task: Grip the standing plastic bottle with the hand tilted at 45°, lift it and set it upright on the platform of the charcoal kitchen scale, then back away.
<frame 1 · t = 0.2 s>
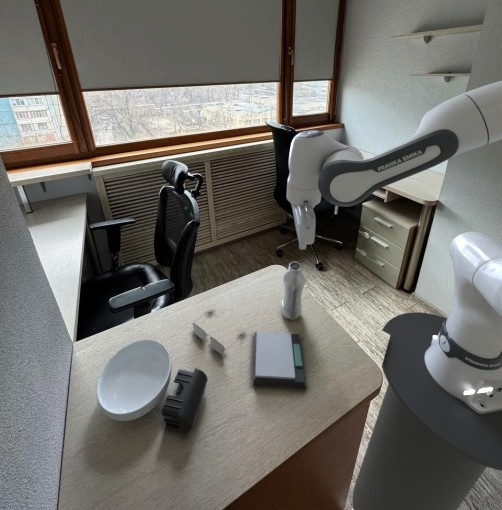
hand: (299, 237, 75), 31 cm above the table, tool pointing down, fingers open, 8 cm apart
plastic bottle: (290, 314, 88), on the table
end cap: (187, 407, 64), on the table
scale: (277, 360, 74), on the table
cereal bowl: (139, 390, 67), on the table
eyeglasses: (217, 333, 81), on the table
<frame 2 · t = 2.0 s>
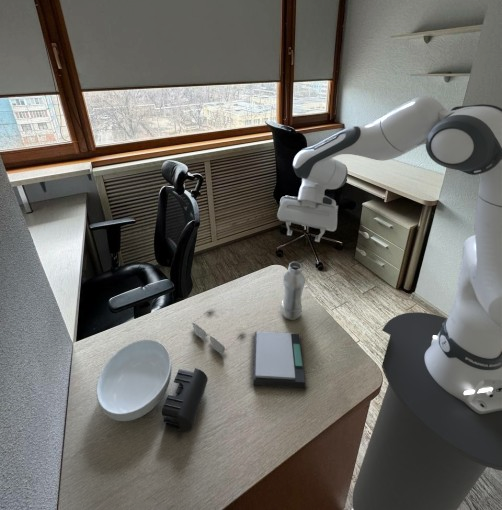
hand: (302, 238, 90), 22 cm above the table, tool tilted 45°, fingers open, 8 cm apart
nothing on the table moved.
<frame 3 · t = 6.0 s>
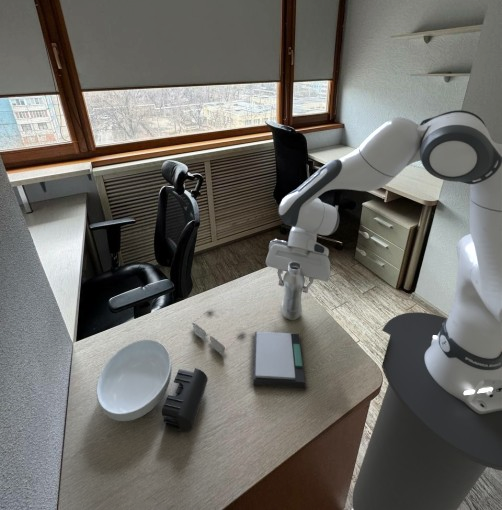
hand: (292, 289, 83), 11 cm above the table, tool tilted 45°, fingers closed on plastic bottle, 6 cm apart
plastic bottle: (290, 314, 88), on the table, touching gripper
everything else where it was.
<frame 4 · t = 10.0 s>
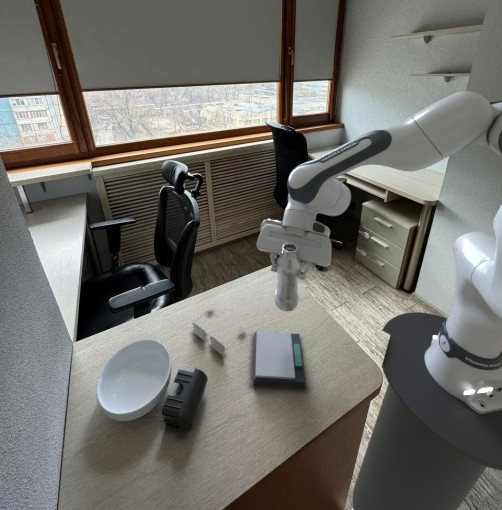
hand: (287, 275, 71), 24 cm above the table, tool tilted 45°, fingers closed on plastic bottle, 6 cm apart
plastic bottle: (285, 305, 76), point 13 cm above the table, touching gripper
everything else where it was.
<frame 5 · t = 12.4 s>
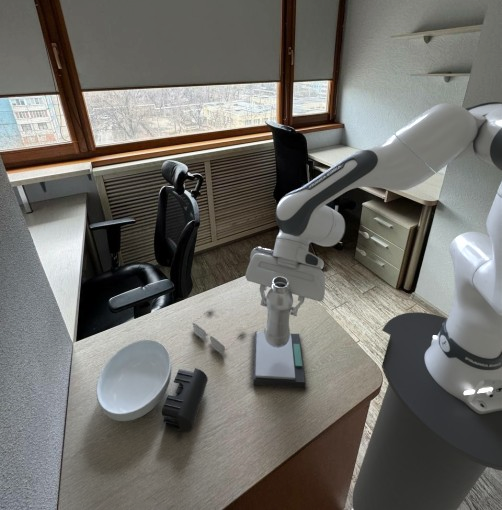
hand: (278, 310, 66), 20 cm above the table, tool tilted 45°, fingers closed on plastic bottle, 6 cm apart
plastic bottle: (276, 340, 71), point 8 cm above the table, touching gripper
everything else where it was.
when the fingers open (14 cm above the table, at t = 14.5 s): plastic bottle stays where it is, resting on scale.
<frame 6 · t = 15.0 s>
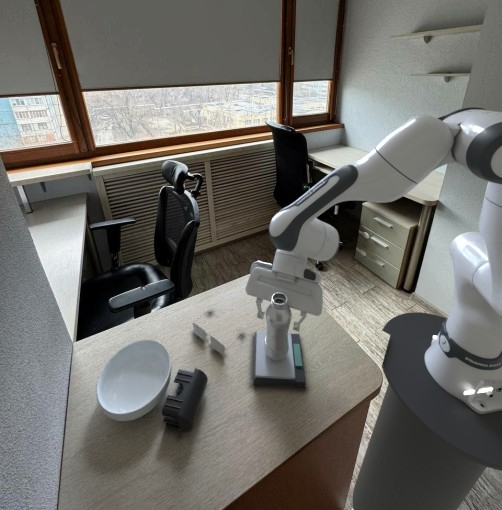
hand: (277, 324, 68), 15 cm above the table, tool tilted 45°, fingers open, 8 cm apart
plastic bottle: (276, 353, 73), point 3 cm above the table, touching scale
everything else where it was.
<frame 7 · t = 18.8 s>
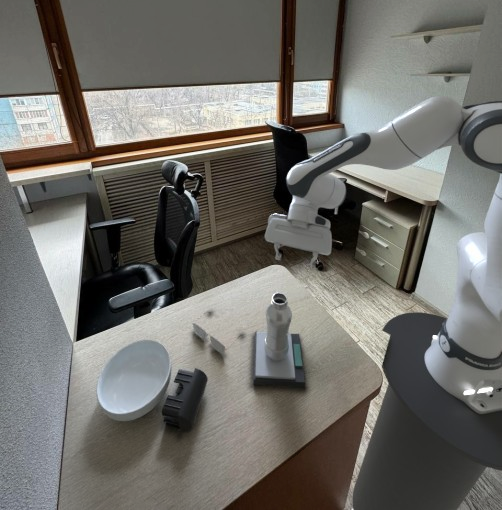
hand: (293, 263, 79), 21 cm above the table, tool tilted 45°, fingers open, 8 cm apart
nothing on the table moved.
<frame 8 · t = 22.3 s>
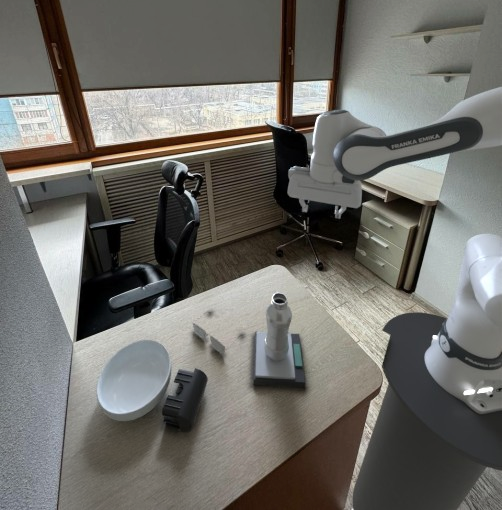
hand: (321, 214, 78), 35 cm above the table, tool pointing down, fingers open, 8 cm apart
nothing on the table moved.
at the end: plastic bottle inside the target area on the scale (0.1 cm from its centre), point 2.8 cm above the scale's base; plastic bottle tilted 0°; the gripper is holding nothing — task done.
